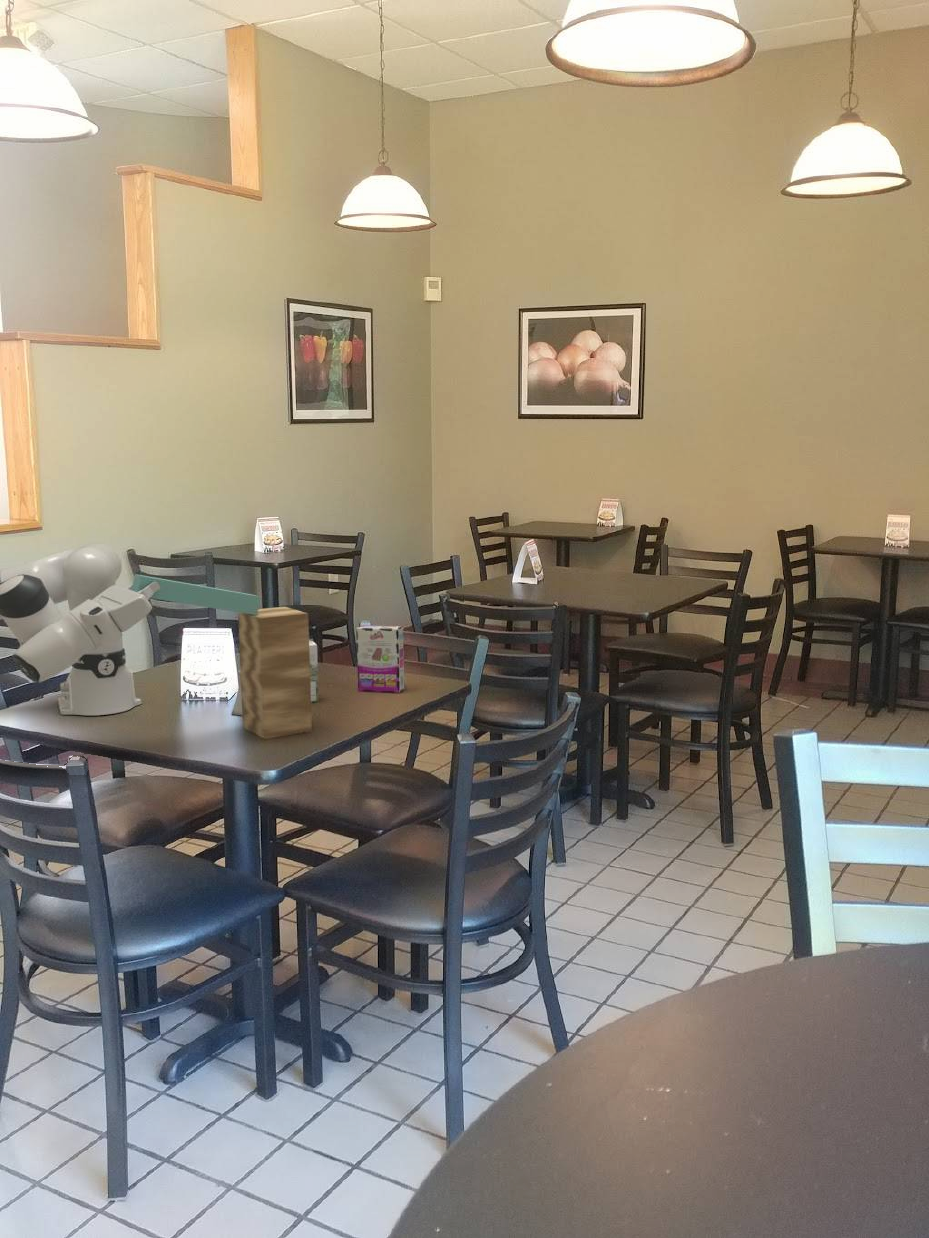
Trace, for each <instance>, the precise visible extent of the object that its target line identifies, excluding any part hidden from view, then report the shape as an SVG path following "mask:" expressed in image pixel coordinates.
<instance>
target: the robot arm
mask: <svg viewBox="0 0 929 1238" xmlns="http://www.w3.org/2000/svg"><path fill="white" fill-rule="evenodd" d="M120 557H121V556H120V555H119V553H117V551H116V549H114V548H113V547H112V546H110V545H108V544H106V543H101V542H92V543H91V542H90V543H88V544H84V545H81V546H77V547H75V548H72V549H68V550H65V551H60V552H57V553H54V554H52V555H48V556H46V557H45V556H44V557H41V558H38V559H35V560H32V561H29V562H28V561H27V562H24V563H21V564H17V565H14V566H10V567H7V568H4V569H0V620H2V621H4V623H5V624H6V625H7V626H8V628H9V629H10V631H11V632H12V633H13V635H14V637H15V638H16V640H17V641H18V643H19V647H18V648H17V649H16V650H15V651H14V653H13V654H12V655H13V656H12V659H13V662H14V663H15V665H16V667H17V669H19V671H20V672H21V673H22V674H24V675H25V677H26V678H28V679H29V680H30V681H33V682H35V683H42V682H45V681H47V680H50V679H51V678H53V677H55V676H57V675H59V674H60V673H62V672H64V671H65V670H67V669H69V668H70V667H72V668H71V669H70V672H69V673H68V676H67V677H66V681H63V682H60V683H59V685H60V686H59V688H60V692H61V693H64V696H61V697H58V699H57V700H58V701H57V703H58V708H59V713H60V715H64V716H65V715H69V716H71V715H75V716H76V715H77V716H78V715H79V716H101V715H102V716H104V715H106V716H107V715H112V714H119V713H124V712H126V711H129V710H131V709H133V708H134V707H136V706H139V705H142V703H143V702H142V699H141V698H138V697H136V692H135V685H134V684H135V683H134V675H133V671H132V670H131V669H129V668H128V667H127V666H126V663H127V661H126V657H127V654H126V650H125V648H124V645H123V642H124V641H123V632H126V631H128V630H129V629H131V628H132V627H134V626H135V625H136V624H138V623H139V622H141V620H143V619H144V618H145V617H147V616H148V615H149V614H150V612H151V611H152V610H153V606H152V603H151V602H150V601H149V600H150V599H151V598H150V597H151V596H152V595H153V594H154V593H155V592H156V591H158V590H159V589H160V586H159V584H158V583H157V582H155V581H152V582H151V583H149V584H148V585H147V587H145V588H144V589H143V590H140V591H139V592H135V591H132V586H133V584H130V585H128V586H127V587H123V586H121V585H117V584H116V581H118V579H119V578H120V575H121V573H122V567H123V566H122V560H121V558H120ZM66 601H67V603H68V607H69V608H68V609H69V611H68V612H67V613H65V615H63V614H62V613H61V611H60V610H59V608H58V606H57V604H59V603H63V602H66Z"/></svg>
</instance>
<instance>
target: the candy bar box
mask: <svg viewBox="0 0 929 1238" xmlns="http://www.w3.org/2000/svg"><path fill="white" fill-rule="evenodd" d="M355 634H356V636H355V637H356V656H357V657H356V659H357V660H356V662H357V691H358V692H366V693H367V692H368V693H386V694H390V693H391V694H399V693H401V692H402V690H403V689H404V690H405V687H406V686H405V657H404V656H405V653H404V651H405V649H404V626H400V625H399V626H398V625H360V626H359V627H356V633H355ZM404 690H403V691H404Z"/></svg>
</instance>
